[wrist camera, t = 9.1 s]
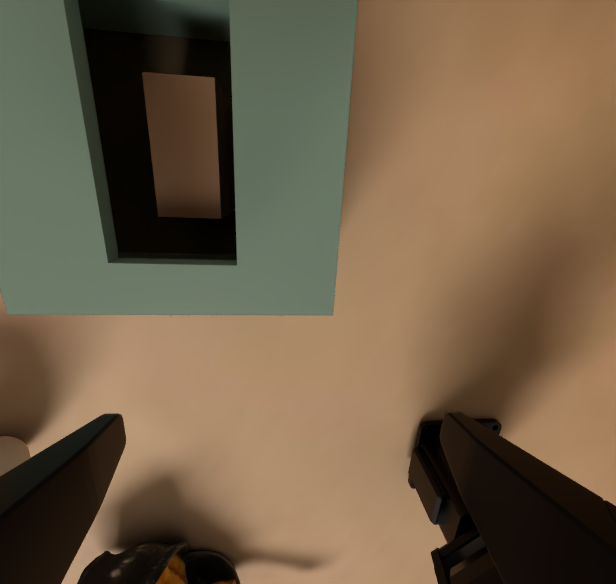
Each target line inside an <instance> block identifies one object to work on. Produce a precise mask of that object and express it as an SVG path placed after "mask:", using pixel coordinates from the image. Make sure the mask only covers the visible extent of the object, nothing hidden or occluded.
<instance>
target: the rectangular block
mask: <svg viewBox="0 0 616 584" xmlns="http://www.w3.org/2000/svg"><path fill="white" fill-rule="evenodd" d="M142 77H143V86H144V95H145V104H146V113H147V122H148V130H149V139H150V148H151V157H152V166H153V175H154V184H155V193H156V201H157V210H158V217H187V218H218V219H221V218H223V217H224V216H226V215H227V214H229V213H230V212H232V211H233V210H234V209H235V178H234V145H233V112H232V106H231V104H230V103H229V101H228V99H227V98H226V96H225V94H224V93H223V91H222V89H221V88H220V86H219V84H218V83H217V81H216V79H215V78H214V77H201V76H188V75H175V74H162V73H149V72H142Z"/></svg>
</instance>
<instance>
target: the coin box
mask: <svg viewBox="0 0 616 584" xmlns="http://www.w3.org/2000/svg"><path fill="white" fill-rule="evenodd" d="M357 5H358V0H0V290H1V294H2V297H3V300H4V304H5V307H6V311H7V314H8V315H327V316H333V310H334V298H335V285H336V272H337V260H338V247H339V234H340V221H341V209H342V196H343V183H344V171H345V158H346V145H347V132H348V120H349V107H350V94H351V82H352V69H353V56H354V43H355V31H356V18H357ZM83 28H88V29H99V30H109V31H120V32H131V33H142V34H152V35H163V36H174V37H184V38H195V39H206V40H217V41H227V42H230V46H231V79H232V112H233V145H234V178H235V212H236V245H237V255H226V254H182V253H139V252H118V247H117V241H116V234H115V228H114V221H113V215H112V209H111V202H110V196H109V190H108V183H107V177H106V171H105V164H104V158H103V152H102V145H101V139H100V132H99V126H98V120H97V113H96V107H95V101H94V94H93V88H92V82H91V75H90V69H89V63H88V56H87V50H86V43H85V37H84V31H83Z"/></svg>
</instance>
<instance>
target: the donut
mask: <svg viewBox="0 0 616 584" xmlns="http://www.w3.org/2000/svg"><path fill="white" fill-rule="evenodd" d="M28 459H30V453H29V449H28V447H27V446H26V444H25V443H24V442H23V441H21V440H20V439H18V438H15V437H10V436H0V476H1V475H3V474H5V473H6V472H8V471H10V470H11V469H13V468H15V467H16V466H18V465H20V464H21V463H23V462H25V461H26V460H28Z"/></svg>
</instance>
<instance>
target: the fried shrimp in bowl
mask: <svg viewBox="0 0 616 584" xmlns="http://www.w3.org/2000/svg"><path fill="white" fill-rule="evenodd" d="M77 584H240V581H239V578H238V575H237V573H236V570H235V568H234V566H233V565H232V563H231V562H230V561H229V560H228V559H227V558H226V557H225V556H223V555H221V554H219V553H216V552H213V551H197V552H191V553H189V552H188V549H187V544H186V543H185V542H181V543H178V544H175V545H168V544H163V543H159V542H150V543H142V544H139V545H137V546H135V547H133V548H130V549H128V550H126V551H124V552H122V553H119V554H115V555H114V554H111V553H110V552H109V551H105V552H104V553H103V554H102V555H100V556H98V557H97V558H95V559H94V560H93V561H92V562H91V563H90V564H89V565H88V566H87V567H86V568H85V569H84V571H83V572H82V574H81V576H80V579H79V581H78V583H77Z"/></svg>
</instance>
